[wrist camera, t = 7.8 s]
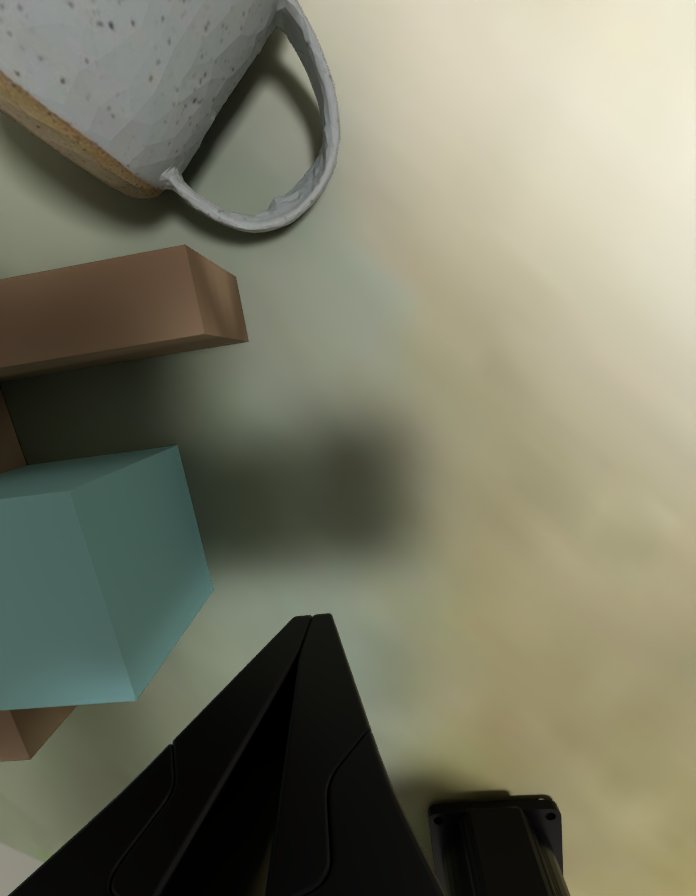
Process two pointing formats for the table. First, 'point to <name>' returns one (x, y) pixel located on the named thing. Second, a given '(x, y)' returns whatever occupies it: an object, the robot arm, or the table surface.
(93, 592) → the teal block
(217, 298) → the corner board
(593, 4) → the table surface
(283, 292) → the table surface
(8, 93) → the ceramic mug
